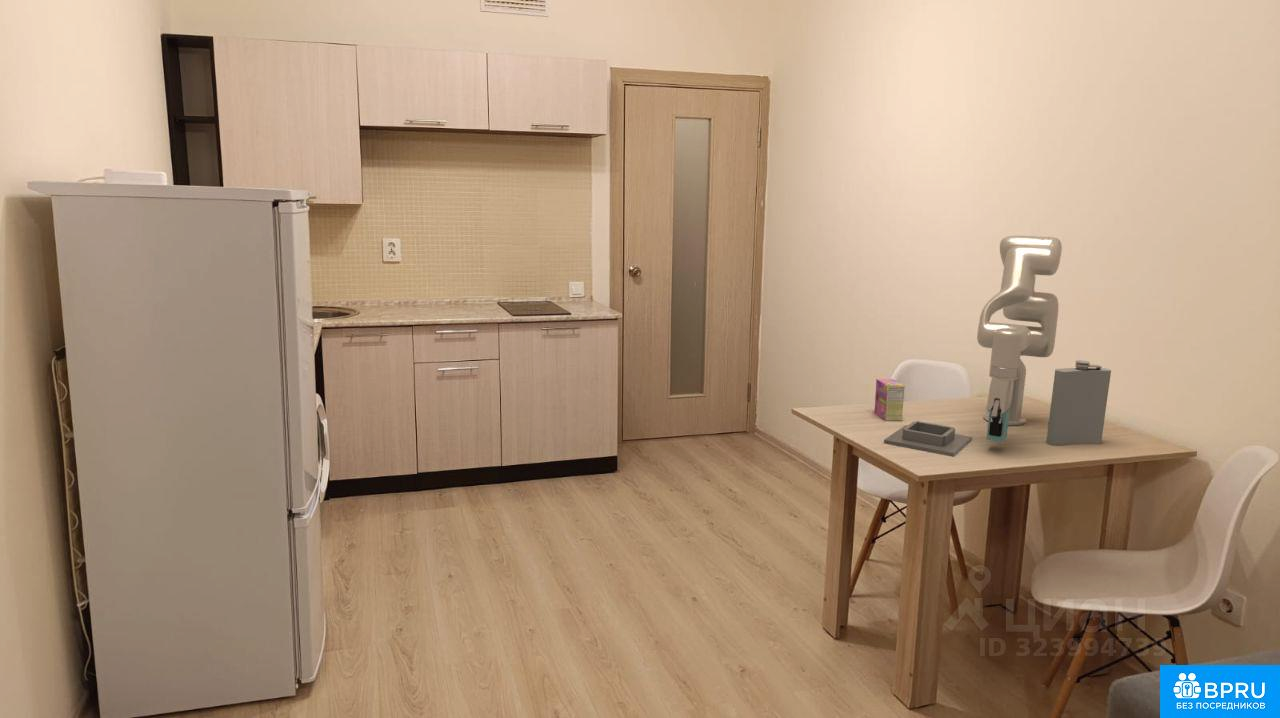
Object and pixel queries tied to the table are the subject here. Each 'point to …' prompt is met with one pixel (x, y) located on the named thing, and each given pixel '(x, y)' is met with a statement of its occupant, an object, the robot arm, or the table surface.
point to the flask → (1078, 405)
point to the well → (929, 438)
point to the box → (889, 399)
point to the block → (1004, 427)
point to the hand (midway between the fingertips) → (997, 432)
